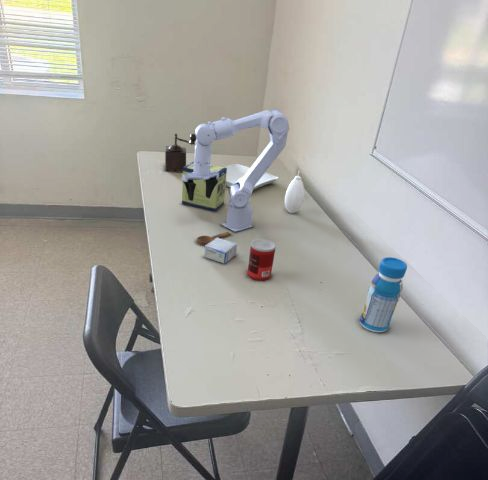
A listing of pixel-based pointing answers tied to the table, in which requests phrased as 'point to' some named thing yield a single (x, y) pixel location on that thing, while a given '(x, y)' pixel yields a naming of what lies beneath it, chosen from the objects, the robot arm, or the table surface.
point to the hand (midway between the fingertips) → (199, 198)
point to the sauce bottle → (294, 195)
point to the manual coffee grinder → (177, 155)
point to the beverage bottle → (383, 295)
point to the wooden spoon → (210, 238)
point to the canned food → (261, 259)
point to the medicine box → (220, 250)
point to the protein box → (200, 190)
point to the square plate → (239, 171)
